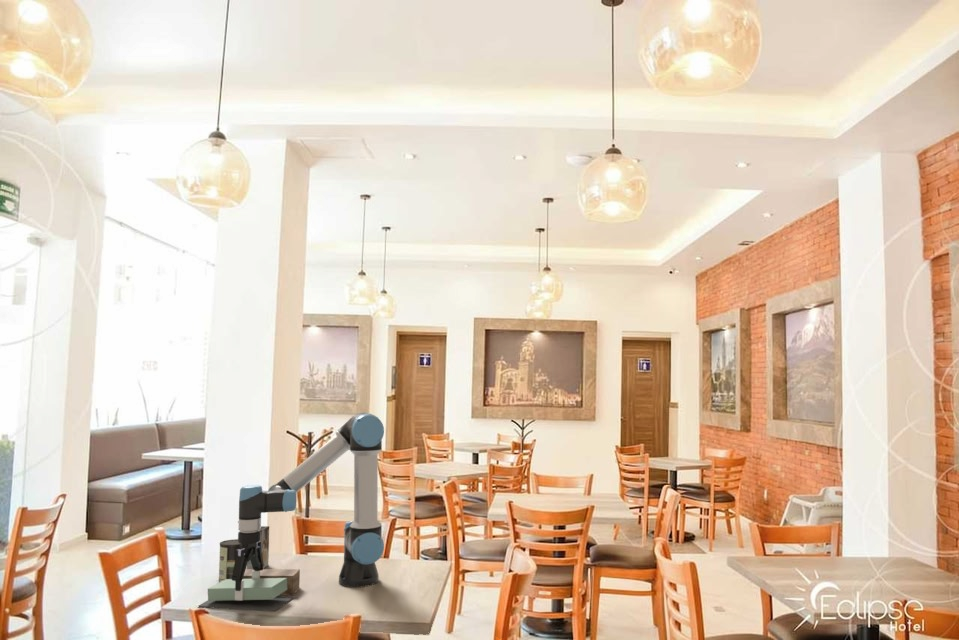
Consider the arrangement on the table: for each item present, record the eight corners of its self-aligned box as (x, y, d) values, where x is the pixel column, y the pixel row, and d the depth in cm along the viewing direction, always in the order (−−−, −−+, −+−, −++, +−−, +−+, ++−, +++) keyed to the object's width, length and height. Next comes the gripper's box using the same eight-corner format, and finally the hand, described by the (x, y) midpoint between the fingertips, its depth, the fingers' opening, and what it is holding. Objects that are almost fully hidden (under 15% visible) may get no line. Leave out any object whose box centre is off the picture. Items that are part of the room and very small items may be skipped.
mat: (294, 598, 247) (294, 596, 247) (275, 611, 232) (275, 610, 232) (220, 594, 251) (220, 592, 251) (197, 607, 236) (198, 605, 236)
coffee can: (251, 576, 275) (252, 539, 276) (237, 583, 265) (238, 545, 266) (227, 574, 277) (229, 538, 278) (212, 581, 267) (214, 544, 268)
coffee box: (253, 564, 292) (254, 525, 293) (268, 565, 292) (269, 526, 293) (246, 570, 283) (247, 530, 284) (261, 570, 283) (262, 530, 284)
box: (299, 588, 259) (299, 569, 260) (292, 595, 250) (293, 575, 251) (240, 588, 259) (241, 569, 260) (231, 595, 250) (232, 575, 251)
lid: (287, 589, 244) (286, 577, 245) (271, 599, 234) (271, 587, 234) (226, 590, 249) (225, 579, 250) (208, 600, 239) (207, 588, 239)
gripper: (255, 523, 256) (253, 584, 254) (222, 537, 233) (219, 604, 230) (274, 524, 255) (272, 585, 253) (243, 538, 231) (240, 605, 229)
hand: (247, 594), depth 242 cm, fingers closed on lid, 11 cm apart
